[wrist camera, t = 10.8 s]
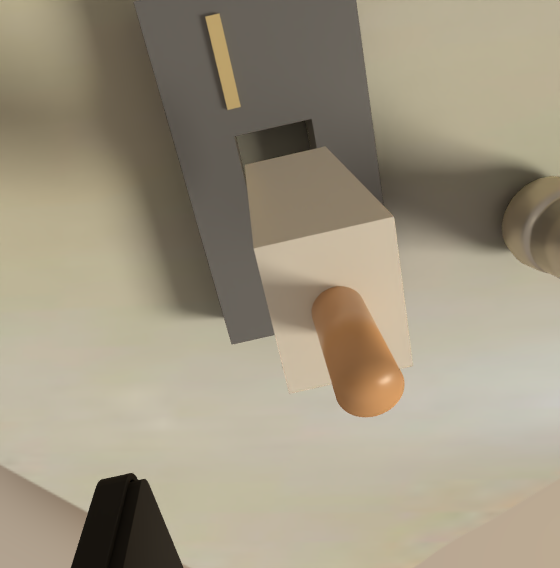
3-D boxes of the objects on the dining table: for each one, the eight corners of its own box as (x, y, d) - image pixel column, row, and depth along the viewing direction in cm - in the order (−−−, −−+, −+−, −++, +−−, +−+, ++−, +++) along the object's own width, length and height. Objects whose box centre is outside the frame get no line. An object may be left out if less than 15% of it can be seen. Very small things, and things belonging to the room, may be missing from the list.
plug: (244, 164, 26) (260, 312, 11) (325, 146, 26) (446, 270, 11) (266, 259, 28) (305, 488, 13) (341, 242, 28) (462, 452, 13)
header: (144, 7, 33) (132, 1, 29) (336, -38, 33) (350, -50, 29) (231, 318, 42) (231, 346, 38) (382, 284, 42) (398, 309, 38)
